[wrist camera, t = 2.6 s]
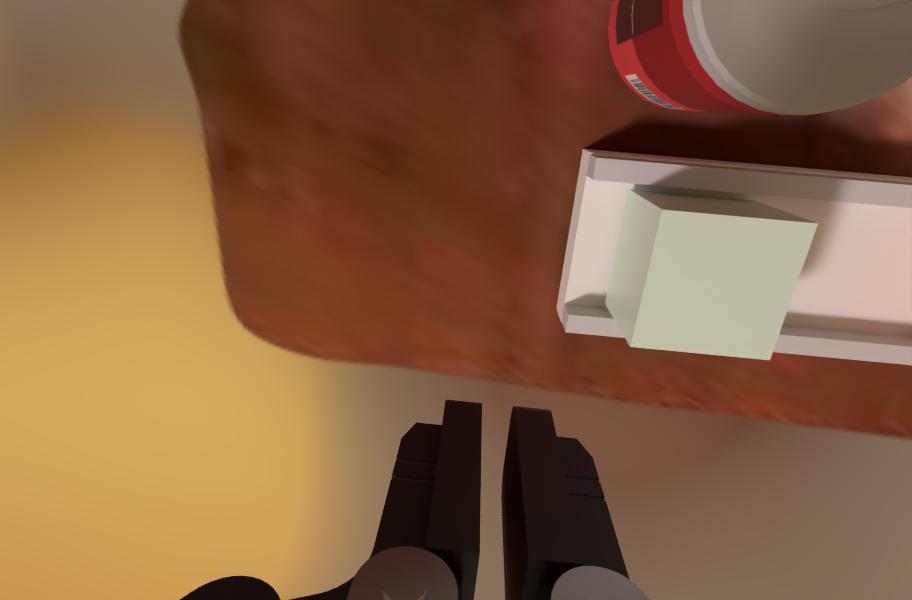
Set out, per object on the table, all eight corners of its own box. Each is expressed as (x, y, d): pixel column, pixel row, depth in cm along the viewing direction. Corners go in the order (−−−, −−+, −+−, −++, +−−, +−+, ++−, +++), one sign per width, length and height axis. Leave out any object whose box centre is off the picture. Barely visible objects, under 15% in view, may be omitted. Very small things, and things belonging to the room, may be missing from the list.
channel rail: (556, 308, 29) (589, 403, 20) (582, 149, 26) (637, 174, 17) (973, 347, 29) (1207, 464, 19) (1056, 189, 25) (1385, 240, 16)
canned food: (773, 95, 25) (978, 90, 14) (607, 123, 25) (689, 137, 15) (783, -91, 22) (1046, -262, 12) (598, -53, 23) (689, -179, 12)
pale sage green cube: (605, 303, 26) (630, 346, 22) (628, 189, 24) (662, 209, 19) (719, 314, 26) (769, 360, 22) (753, 200, 24) (818, 223, 19)
